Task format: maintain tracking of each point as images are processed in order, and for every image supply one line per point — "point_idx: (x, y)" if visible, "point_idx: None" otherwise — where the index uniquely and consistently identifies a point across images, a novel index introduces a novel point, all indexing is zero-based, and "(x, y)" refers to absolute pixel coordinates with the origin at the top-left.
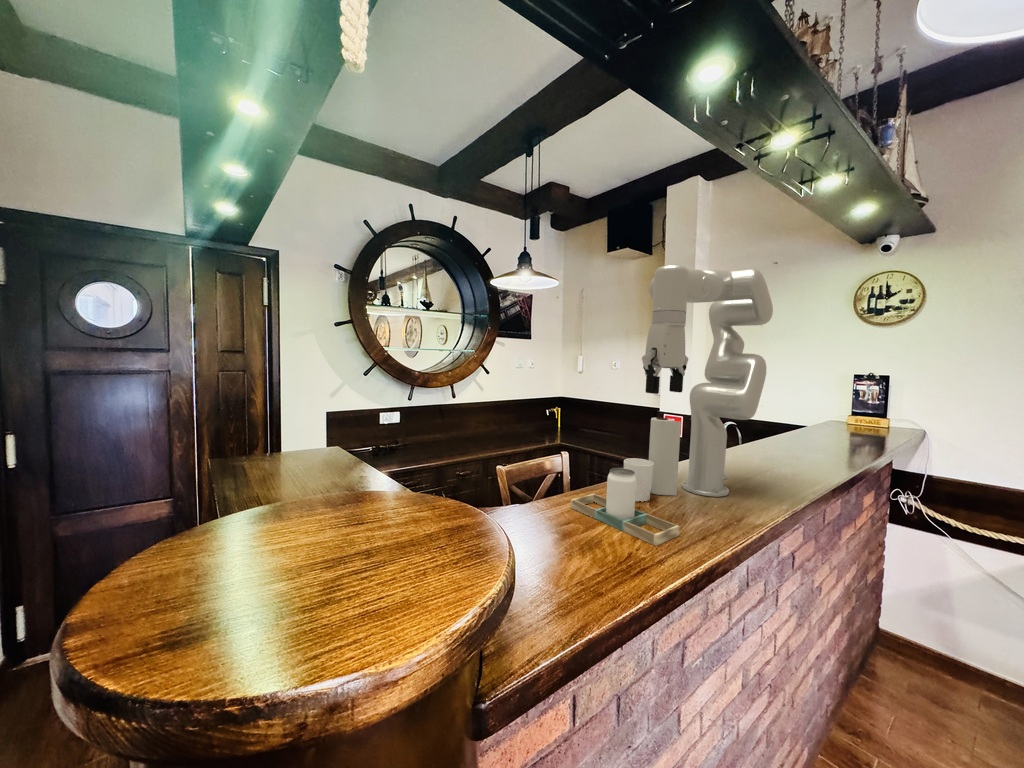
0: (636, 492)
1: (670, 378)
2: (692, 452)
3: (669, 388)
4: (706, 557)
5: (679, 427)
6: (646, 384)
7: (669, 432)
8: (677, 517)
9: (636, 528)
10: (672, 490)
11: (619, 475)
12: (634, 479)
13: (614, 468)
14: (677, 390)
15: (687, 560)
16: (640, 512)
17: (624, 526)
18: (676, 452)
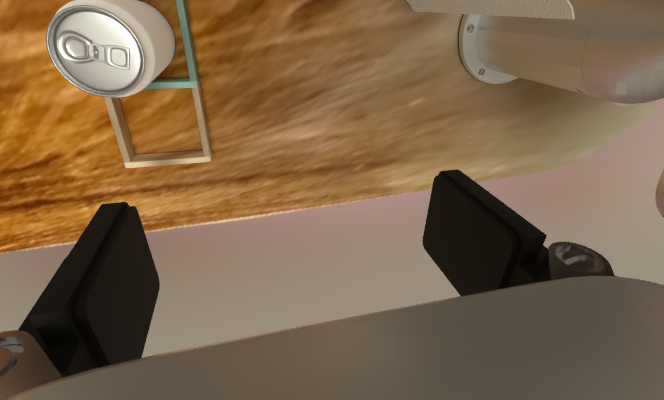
0: None
1: (497, 228)
2: None
3: (443, 181)
4: (186, 219)
5: (548, 14)
6: (77, 249)
7: None
8: (289, 97)
9: (112, 122)
10: (413, 2)
11: (64, 72)
12: (127, 95)
13: (92, 8)
14: (428, 233)
15: (146, 213)
16: (188, 70)
17: None
18: (478, 6)
